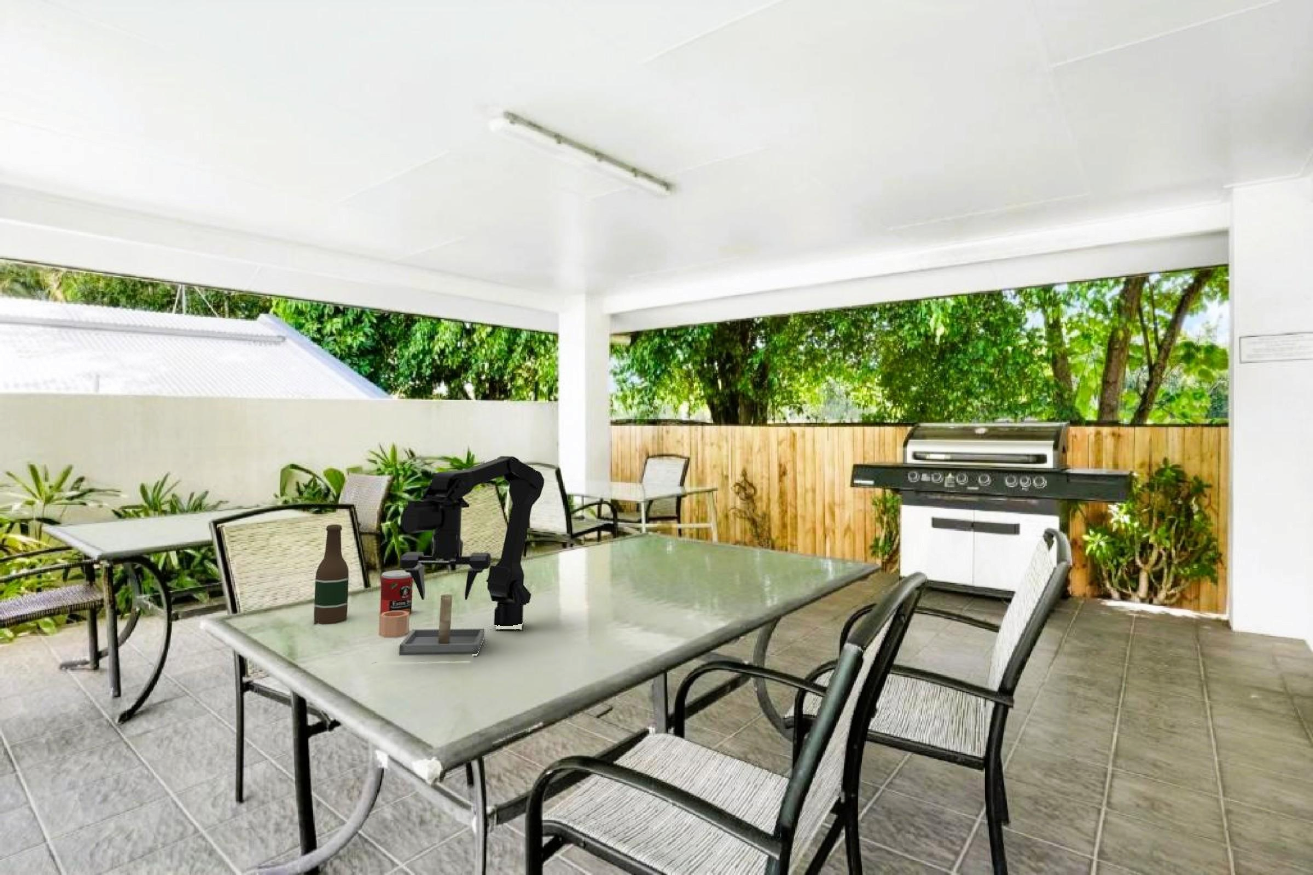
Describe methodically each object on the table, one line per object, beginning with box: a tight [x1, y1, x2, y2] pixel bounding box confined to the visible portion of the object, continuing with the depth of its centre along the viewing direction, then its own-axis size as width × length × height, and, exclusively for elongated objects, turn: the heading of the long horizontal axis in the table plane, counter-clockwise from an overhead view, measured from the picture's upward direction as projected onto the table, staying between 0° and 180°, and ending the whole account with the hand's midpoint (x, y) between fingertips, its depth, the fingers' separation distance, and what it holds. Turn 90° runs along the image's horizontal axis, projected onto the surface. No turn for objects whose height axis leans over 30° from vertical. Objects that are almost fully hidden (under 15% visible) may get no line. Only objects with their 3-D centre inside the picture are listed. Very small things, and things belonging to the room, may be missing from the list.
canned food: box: [379, 569, 414, 616], centre depth 169 cm, size 8×8×11 cm
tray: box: [398, 628, 485, 656], centre depth 144 cm, size 16×12×2 cm
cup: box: [378, 611, 410, 638], centre depth 152 cm, size 6×6×5 cm
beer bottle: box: [313, 524, 350, 626], centre depth 161 cm, size 8×8×24 cm
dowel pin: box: [438, 593, 453, 644], centre depth 144 cm, size 2×2×10 cm
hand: (444, 599), depth 144 cm, fingers open, 9 cm apart
